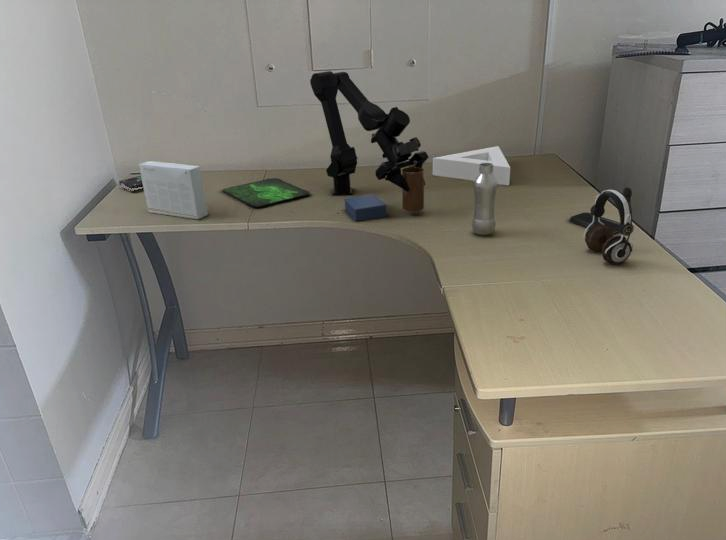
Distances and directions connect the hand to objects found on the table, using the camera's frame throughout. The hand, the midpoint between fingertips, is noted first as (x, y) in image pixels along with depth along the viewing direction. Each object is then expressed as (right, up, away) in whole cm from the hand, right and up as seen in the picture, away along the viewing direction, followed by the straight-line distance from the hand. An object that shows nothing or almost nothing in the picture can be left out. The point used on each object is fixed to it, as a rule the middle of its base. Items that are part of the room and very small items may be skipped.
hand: (416, 188), depth 196 cm
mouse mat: (-52, +5, +28) cm, 59 cm away
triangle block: (+21, +15, +41) cm, 48 cm away
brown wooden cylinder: (-1, -5, +4) cm, 7 cm away
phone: (+53, -13, -8) cm, 55 cm away
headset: (+48, -25, -28) cm, 61 cm away
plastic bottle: (+19, -16, -11) cm, 27 cm away
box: (-16, -6, +7) cm, 18 cm away
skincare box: (-77, -6, +12) cm, 78 cm away
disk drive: (-98, +10, +40) cm, 106 cm away
